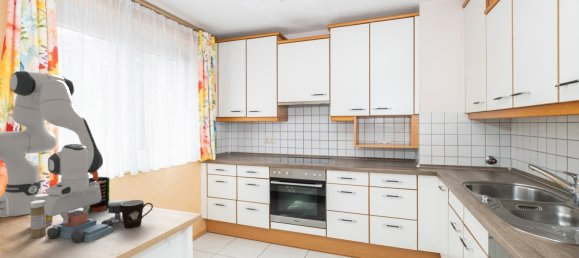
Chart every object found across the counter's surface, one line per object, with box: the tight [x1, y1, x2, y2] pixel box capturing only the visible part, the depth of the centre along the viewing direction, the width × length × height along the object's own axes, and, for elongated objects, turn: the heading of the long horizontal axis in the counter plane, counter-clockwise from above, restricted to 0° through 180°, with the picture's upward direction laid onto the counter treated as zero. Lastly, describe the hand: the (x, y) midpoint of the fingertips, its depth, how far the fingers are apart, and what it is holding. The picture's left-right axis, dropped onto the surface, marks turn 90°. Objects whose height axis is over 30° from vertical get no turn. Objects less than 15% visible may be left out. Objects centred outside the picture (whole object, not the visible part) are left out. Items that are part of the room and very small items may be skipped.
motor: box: [87, 170, 110, 214], centre depth 138 cm, size 10×9×20 cm
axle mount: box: [109, 212, 123, 226], centre depth 123 cm, size 6×6×5 cm
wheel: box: [107, 199, 127, 214], centre depth 123 cm, size 7×7×4 cm
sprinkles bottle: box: [30, 200, 47, 239], centre depth 107 cm, size 5×5×14 cm
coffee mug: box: [121, 199, 154, 230], centre depth 119 cm, size 12×9×10 cm
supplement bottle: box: [35, 193, 54, 227], centre depth 118 cm, size 7×7×13 cm
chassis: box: [46, 215, 114, 244], centre depth 110 cm, size 20×14×4 cm
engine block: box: [62, 209, 88, 227], centre depth 111 cm, size 6×5×5 cm
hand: (75, 219), depth 111 cm, fingers closed on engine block, 5 cm apart
